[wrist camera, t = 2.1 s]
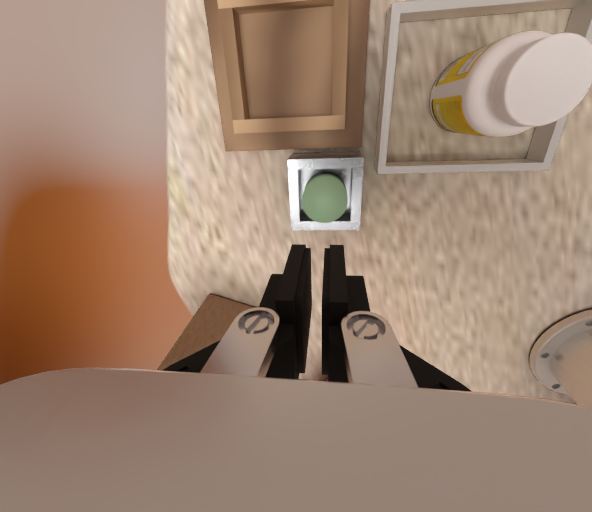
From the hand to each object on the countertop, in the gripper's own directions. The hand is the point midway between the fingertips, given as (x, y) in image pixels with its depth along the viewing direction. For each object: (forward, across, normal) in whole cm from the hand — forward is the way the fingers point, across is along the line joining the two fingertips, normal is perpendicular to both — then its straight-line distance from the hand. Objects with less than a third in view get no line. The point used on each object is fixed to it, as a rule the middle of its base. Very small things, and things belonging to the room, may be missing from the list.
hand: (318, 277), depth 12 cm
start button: (+14, 0, 0) cm, 14 cm away
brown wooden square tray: (+17, +3, -10) cm, 20 cm away
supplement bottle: (+17, -11, -7) cm, 22 cm away
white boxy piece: (+17, 0, 0) cm, 17 cm away
